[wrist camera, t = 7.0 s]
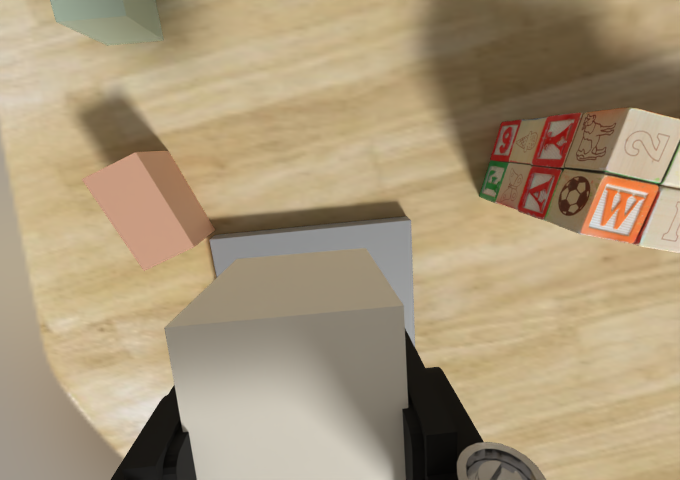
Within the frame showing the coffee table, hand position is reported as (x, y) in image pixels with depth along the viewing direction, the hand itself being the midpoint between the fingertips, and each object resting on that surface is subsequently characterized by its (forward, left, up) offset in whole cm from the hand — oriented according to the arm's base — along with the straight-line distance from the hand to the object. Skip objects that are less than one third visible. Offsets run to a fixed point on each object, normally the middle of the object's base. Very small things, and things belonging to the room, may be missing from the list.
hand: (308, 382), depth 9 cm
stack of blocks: (-1, +25, -20) cm, 32 cm away
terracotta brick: (-3, -12, -20) cm, 23 cm away
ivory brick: (0, 0, -2) cm, 2 cm away
